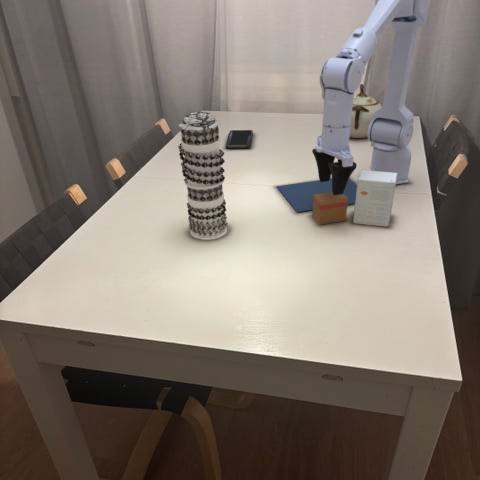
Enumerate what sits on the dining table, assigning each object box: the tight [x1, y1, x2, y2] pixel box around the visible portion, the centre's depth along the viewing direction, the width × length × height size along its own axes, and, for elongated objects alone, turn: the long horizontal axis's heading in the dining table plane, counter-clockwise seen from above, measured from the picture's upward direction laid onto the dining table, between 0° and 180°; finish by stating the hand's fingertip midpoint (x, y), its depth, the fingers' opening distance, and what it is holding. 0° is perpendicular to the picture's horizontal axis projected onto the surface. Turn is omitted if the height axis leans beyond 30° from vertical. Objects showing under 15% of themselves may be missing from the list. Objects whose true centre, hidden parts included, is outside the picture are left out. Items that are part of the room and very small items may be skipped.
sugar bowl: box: [349, 83, 383, 139], centre depth 151 cm, size 20×15×15 cm
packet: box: [311, 192, 349, 226], centre depth 108 cm, size 7×5×6 cm
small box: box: [352, 169, 397, 228], centre depth 105 cm, size 8×6×10 cm
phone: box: [225, 129, 254, 150], centre depth 154 cm, size 8×1×15 cm
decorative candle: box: [177, 111, 228, 241], centre depth 100 cm, size 9×9×25 cm
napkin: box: [276, 177, 357, 214], centre depth 120 cm, size 20×16×1 cm
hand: (331, 187), depth 105 cm, fingers open, 7 cm apart
